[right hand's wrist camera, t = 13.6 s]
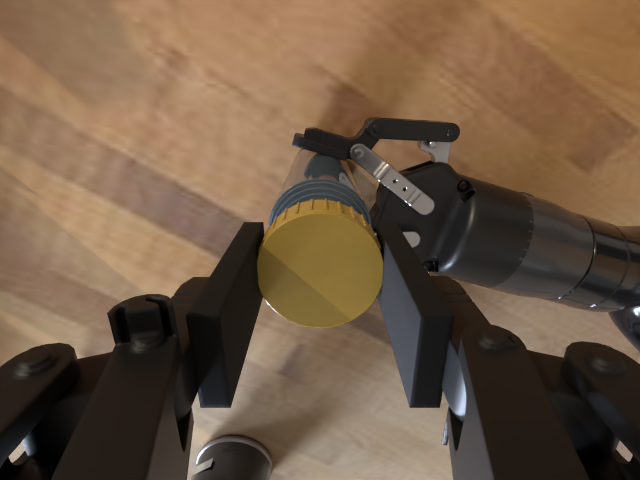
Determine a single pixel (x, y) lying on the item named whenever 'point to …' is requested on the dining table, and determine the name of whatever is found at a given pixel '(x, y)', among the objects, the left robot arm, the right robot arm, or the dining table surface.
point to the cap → (320, 264)
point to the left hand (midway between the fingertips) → (285, 178)
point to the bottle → (319, 184)
